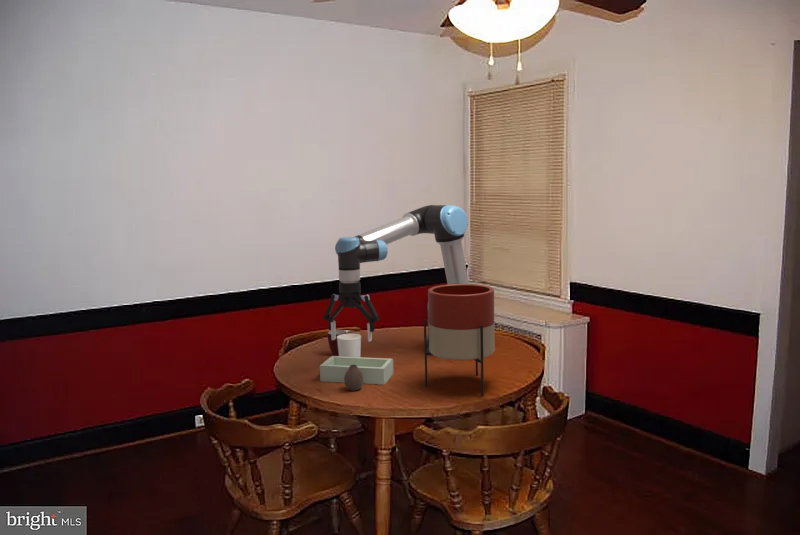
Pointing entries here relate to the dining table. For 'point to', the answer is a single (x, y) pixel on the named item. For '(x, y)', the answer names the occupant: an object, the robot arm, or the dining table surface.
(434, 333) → the planter
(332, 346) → the mug
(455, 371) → the dining table surface
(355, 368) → the vase
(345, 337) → the candle holder
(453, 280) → the robot arm
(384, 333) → the dining table surface
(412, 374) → the dining table surface
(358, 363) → the green rectangular tray
